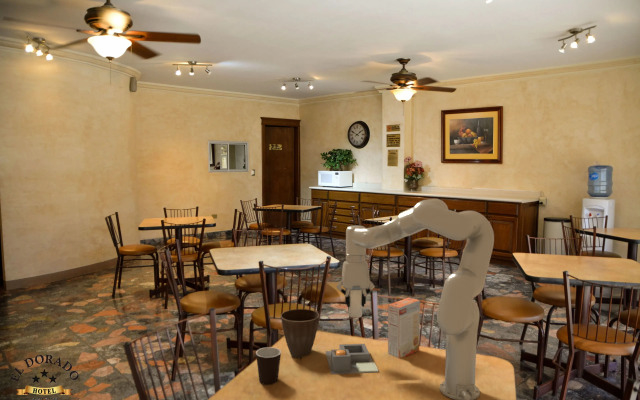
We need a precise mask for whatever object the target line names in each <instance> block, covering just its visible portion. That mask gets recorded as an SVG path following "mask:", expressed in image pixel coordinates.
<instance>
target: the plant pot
mask: <svg viewBox="0 0 640 400" xmlns="http://www.w3.org/2000/svg"><path fill="white" fill-rule="evenodd" d="M280 319H281V320H280V321H281V325H282V331H283V335H284V339H285V343H286V346H287V348H288V350H289V354H290V356H291V357H292V358H296V359H302V357H307V356H309V355H310V354H311V351H312V350H313V347H314V344H315V339H316V335H317V331H318V326H319V319H320V314H319V312H317V311H315V310H313V309H307V308H298V309H296V308H295V309H288V310H285V311H284V312H282V313H281V314H280Z"/></svg>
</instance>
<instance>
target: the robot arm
mask: <svg viewBox="0 0 640 400" xmlns="http://www.w3.org/2000/svg"><path fill="white" fill-rule="evenodd" d="M426 229H427V230H429V231H431V232H433V233H435V234H437V235H439V236H443V237H445V238H447V239H451V240H453V241H465V240H466V243H465V245H464V248H463V250H462V254H461V259H460V262H459V266H458V268H457V270H456V271H453V272H452V273H450V274H449V275H448V277H446V279H445V282H444V283H443V287H442V291H441V295H440V299H439V303H438V308H437V312H436V321H437V325H438V327H439V329H440V330H441V331H442V332H443V333H444V334H446V335H445V339H446V340H445V341H446V342H445V363H444V365H445V371H444V381H442V382H441V383H440V385H439V391H440V392H441V393H442V394H443V395H444V396H445V397H447V398H449V399H452V400H476V399H478V398H479V397H480V395H481V394H480V392H481V391H480V389H479V387H477V386H476V369H477V368H476V365H477V344H478V342H477V340H478V339H477V338H478V331H479V330H478V329H479V323H480V309H479V306H478V304H477V303H476V301H475V300H474V298H475V297H477V296H478V295H480V294H481V292H482V291H483V290H484V287H485V282H486V278H487V273H488V271H489V267H490V260H491V257H492V253H493V249H494V243H495V232H494V229H493V227H492V225H491V222H490V220H488V219H487V218H486V217H485V216H484V215H483V214H481V213H480V212H478V211H475V210H463V211H459V212H456V211H454V210H452V209H449V207H448V205H447V204H446V202H444V200H443V199H439V198H429V199H423V200H420V201H419V202H417V203H416V204H415V205H414V206H413V207H411V208H408V209H406V210H404V211H402V212H400V213H399V214H398V216H397V217H396V218H394V219H393V220H391V221H388V222H386V223H384V224H381V225H376V226H372V227H365V226H363V225H349V226H347V228H346V230H345V261H343V263H342V270H341V280H340V281H339V282H338V284H337V285H336V286H335V287H336V289H337V290H338V291H340V292H341V293H342V294H343V295H344V303H345V305H346V307H347V308H349V307H350V297H349V292H350V289H352V287H353V286H360V288H361V289H362V308H363V307H365V305H366V303H367V296H368V294H369V293H370V292H371V291H373V289H375V287H376V286H375V285H374V283H373V282H372V281H371V279H370V271H369V265H368V264H369V262H368V260H370V258H371V256H370V255H369V254H367V249H368V250H369V249H370V250H371V249H375V248H378V247H382V246H386V245H388V244H391V243H394V242H396V241H399V240H401V239H403V238H406V237H410V236H413V235H414V234H417V233H420V232H421V231H423V230H426Z"/></svg>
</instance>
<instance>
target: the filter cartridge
mask: <svg viewBox="0 0 640 400" xmlns="http://www.w3.org/2000/svg"><path fill="white" fill-rule="evenodd" d="M349 297H350V307H348V317H350V318H356V319H357V318H361V317H362V316H363V306H362V289H361V288H360V286H353V287H352V289H350V292H349Z"/></svg>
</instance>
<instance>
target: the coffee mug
mask: <svg viewBox="0 0 640 400" xmlns="http://www.w3.org/2000/svg"><path fill="white" fill-rule="evenodd" d="M281 356H282V350H281V349H279V348H277V347H271V346H268V347H262V348H258V349H257V350H256V351H255V357H256V364H257V365H256V366H257V371H258V380H259V383H260V384H261V385H267V386H268V385H274V384H276V383H277V382H278V380H279V372H280V366H281V358H282V357H281Z"/></svg>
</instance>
